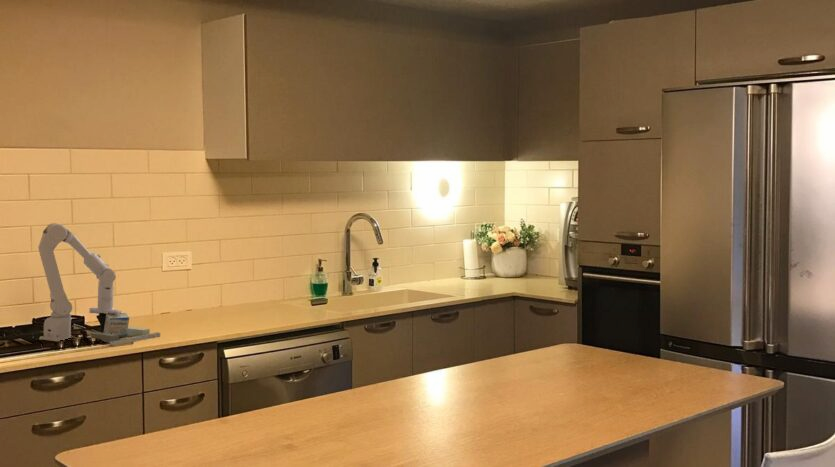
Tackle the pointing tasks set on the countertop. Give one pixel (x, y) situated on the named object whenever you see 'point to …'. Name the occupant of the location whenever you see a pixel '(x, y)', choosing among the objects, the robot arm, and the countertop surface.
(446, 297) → the countertop surface
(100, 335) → the mounted modules
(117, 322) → the medicine box
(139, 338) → the din rail
